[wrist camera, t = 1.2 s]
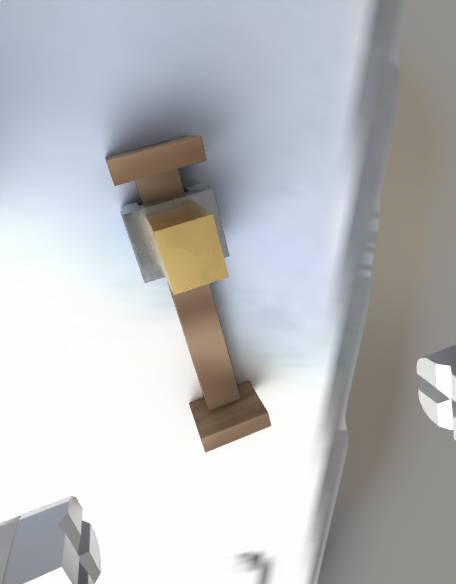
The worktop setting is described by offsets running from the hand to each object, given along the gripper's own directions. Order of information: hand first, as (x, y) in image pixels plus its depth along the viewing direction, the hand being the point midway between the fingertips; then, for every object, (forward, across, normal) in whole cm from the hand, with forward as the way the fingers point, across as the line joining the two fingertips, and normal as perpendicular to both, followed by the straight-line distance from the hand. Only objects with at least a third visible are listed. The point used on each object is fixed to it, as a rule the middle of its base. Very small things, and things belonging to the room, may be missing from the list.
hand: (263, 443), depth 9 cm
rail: (+25, -2, +6) cm, 26 cm away
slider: (+25, -2, 0) cm, 25 cm away
